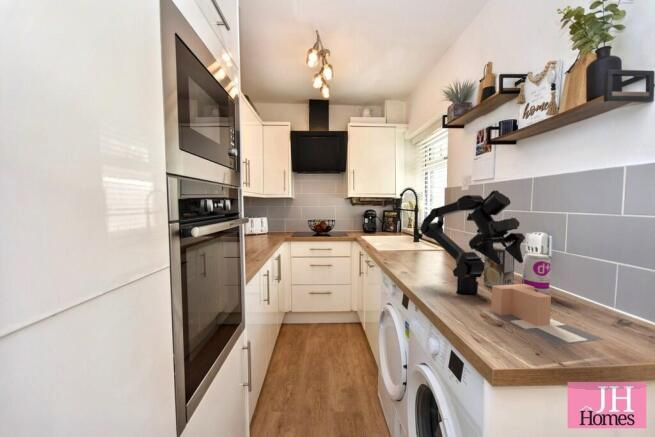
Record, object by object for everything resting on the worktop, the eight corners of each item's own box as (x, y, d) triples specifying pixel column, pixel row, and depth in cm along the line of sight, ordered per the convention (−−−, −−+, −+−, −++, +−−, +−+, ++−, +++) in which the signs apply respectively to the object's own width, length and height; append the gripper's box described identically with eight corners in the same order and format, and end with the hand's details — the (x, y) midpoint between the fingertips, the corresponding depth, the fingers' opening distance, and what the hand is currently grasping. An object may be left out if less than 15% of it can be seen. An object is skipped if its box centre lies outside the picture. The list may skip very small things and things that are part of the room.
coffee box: (514, 289, 109) (516, 249, 108) (503, 291, 106) (505, 250, 106) (492, 283, 117) (494, 246, 117) (482, 284, 115) (483, 247, 114)
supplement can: (553, 298, 99) (556, 257, 98) (528, 296, 101) (530, 256, 100) (541, 291, 107) (543, 253, 106) (517, 289, 108) (519, 252, 108)
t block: (491, 311, 85) (492, 285, 84) (523, 308, 87) (524, 283, 87) (525, 327, 73) (526, 298, 73) (560, 323, 76) (562, 295, 76)
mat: (485, 311, 85) (485, 310, 85) (524, 308, 88) (524, 307, 88) (556, 346, 64) (556, 345, 64) (604, 340, 67) (604, 339, 67)
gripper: (479, 208, 87) (506, 251, 78) (523, 209, 92) (553, 249, 83) (458, 229, 95) (481, 269, 86) (500, 228, 101) (525, 266, 92)
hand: (510, 263), depth 87 cm, fingers open, 9 cm apart
